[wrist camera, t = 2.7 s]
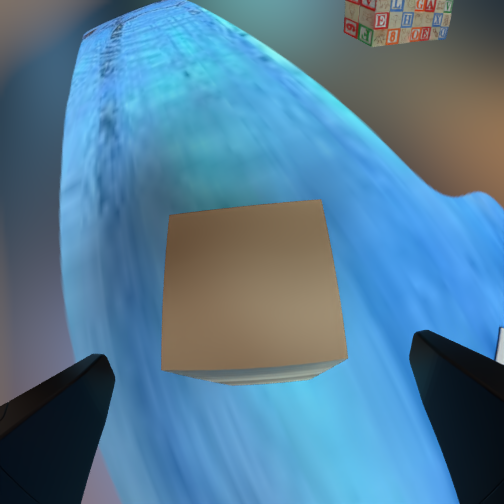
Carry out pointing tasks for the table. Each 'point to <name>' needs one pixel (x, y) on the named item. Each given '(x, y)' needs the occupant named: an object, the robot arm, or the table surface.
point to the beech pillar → (251, 295)
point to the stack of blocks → (397, 20)
